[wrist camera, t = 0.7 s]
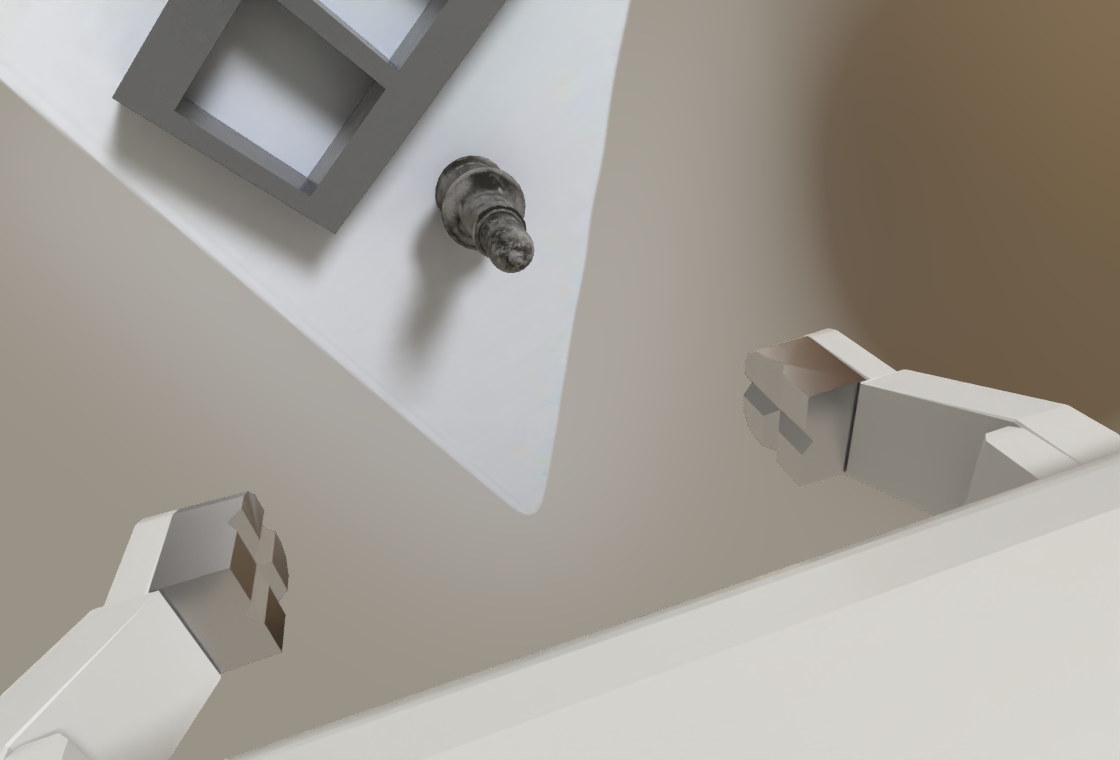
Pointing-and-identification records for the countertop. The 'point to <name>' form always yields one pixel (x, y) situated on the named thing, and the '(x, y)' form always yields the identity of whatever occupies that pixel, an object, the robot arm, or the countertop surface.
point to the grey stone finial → (485, 212)
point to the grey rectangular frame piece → (365, 138)
